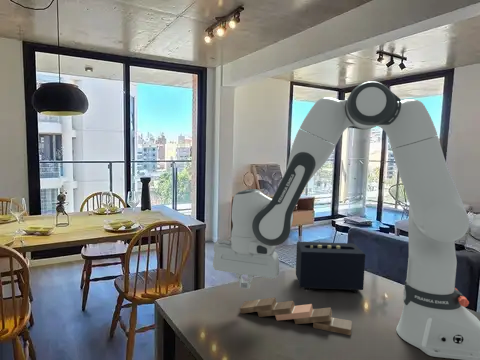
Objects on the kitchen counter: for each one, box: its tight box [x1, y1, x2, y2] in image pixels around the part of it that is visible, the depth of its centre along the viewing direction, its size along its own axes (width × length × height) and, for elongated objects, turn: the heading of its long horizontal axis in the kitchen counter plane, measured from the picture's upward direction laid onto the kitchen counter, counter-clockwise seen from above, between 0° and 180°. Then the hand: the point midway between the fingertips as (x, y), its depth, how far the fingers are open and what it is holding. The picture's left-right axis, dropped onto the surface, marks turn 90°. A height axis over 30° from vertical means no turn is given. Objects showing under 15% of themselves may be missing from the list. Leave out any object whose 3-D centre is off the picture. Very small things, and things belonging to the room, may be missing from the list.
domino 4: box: [293, 307, 333, 325], centre depth 98 cm, size 2×5×10 cm
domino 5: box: [312, 316, 353, 336], centre depth 96 cm, size 2×5×10 cm
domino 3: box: [274, 303, 314, 321], centre depth 100 cm, size 2×5×10 cm
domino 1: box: [239, 297, 278, 314], centre depth 103 cm, size 2×5×10 cm
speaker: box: [295, 241, 366, 293], centre depth 124 cm, size 22×13×15 cm, turn 88°
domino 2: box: [257, 300, 296, 318], centre depth 102 cm, size 2×5×10 cm
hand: (244, 287), depth 104 cm, fingers closed
